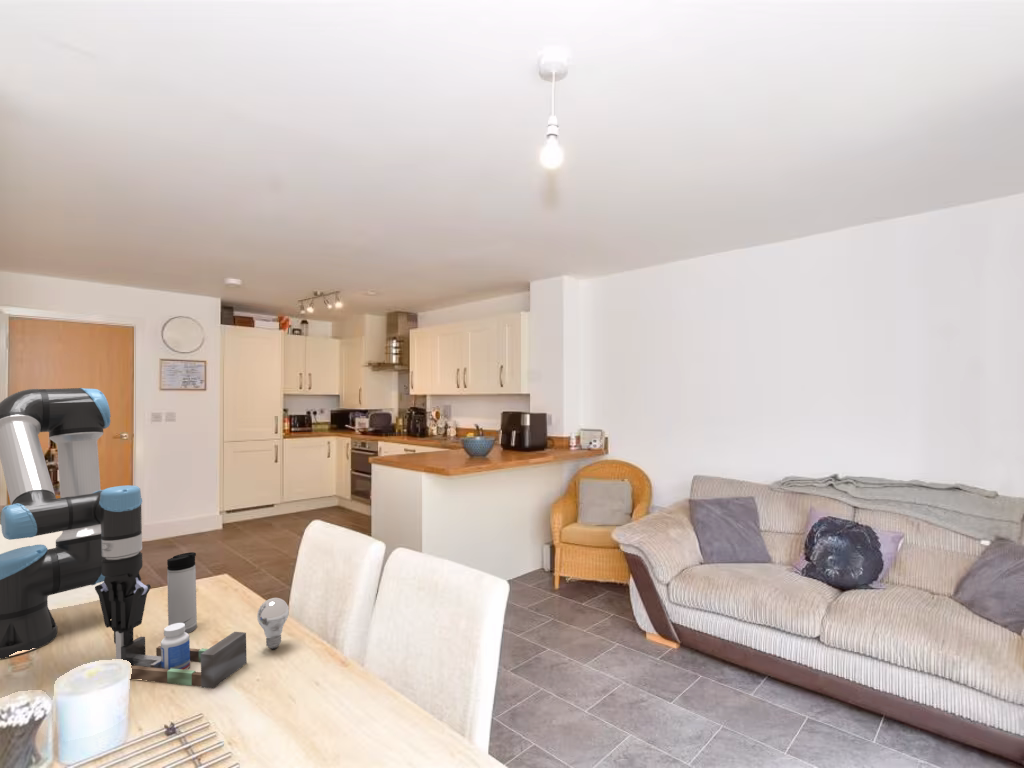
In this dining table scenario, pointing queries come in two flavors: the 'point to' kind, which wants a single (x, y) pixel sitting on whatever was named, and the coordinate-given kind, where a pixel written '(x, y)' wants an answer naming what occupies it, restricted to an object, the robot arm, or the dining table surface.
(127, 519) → the robot arm
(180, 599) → the travel mug
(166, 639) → the pill bottle
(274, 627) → the light bulb
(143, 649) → the grey u-channel bracket
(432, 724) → the dining table surface
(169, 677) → the frame
